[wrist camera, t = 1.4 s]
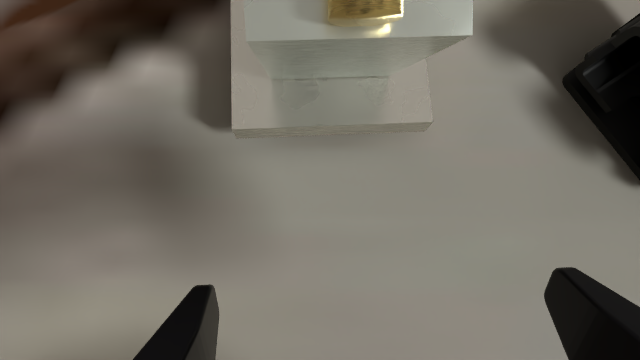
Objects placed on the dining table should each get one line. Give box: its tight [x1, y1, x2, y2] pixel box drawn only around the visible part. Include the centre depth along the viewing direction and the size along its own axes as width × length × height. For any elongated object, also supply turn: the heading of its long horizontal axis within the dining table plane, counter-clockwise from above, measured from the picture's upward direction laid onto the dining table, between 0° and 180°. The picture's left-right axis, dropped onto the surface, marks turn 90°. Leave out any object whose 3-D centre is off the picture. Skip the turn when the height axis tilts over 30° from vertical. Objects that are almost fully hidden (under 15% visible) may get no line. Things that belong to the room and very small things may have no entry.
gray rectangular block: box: [231, 0, 433, 139], centre depth 23 cm, size 10×10×3 cm
